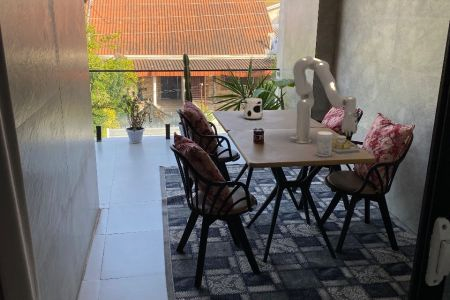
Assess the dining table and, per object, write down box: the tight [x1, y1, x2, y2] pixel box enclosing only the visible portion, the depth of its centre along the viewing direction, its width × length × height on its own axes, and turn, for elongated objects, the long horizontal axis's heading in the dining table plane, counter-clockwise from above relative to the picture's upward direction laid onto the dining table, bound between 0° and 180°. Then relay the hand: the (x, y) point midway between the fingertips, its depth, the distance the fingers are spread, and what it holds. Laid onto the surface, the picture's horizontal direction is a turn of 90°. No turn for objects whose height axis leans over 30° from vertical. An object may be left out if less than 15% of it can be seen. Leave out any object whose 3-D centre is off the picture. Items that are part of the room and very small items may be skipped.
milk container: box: [243, 97, 264, 121], centre depth 395 cm, size 17×17×18 cm
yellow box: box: [332, 138, 352, 149], centre depth 298 cm, size 17×12×5 cm
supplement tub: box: [315, 131, 333, 158], centre depth 281 cm, size 10×10×15 cm
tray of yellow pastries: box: [332, 135, 360, 155], centre depth 296 cm, size 16×20×9 cm
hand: (348, 140), depth 303 cm, fingers closed
